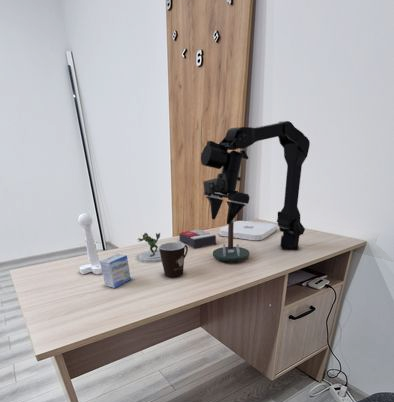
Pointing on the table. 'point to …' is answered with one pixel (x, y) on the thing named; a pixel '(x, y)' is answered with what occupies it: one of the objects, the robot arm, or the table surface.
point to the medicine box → (115, 270)
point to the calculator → (197, 238)
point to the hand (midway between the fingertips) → (220, 221)
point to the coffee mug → (173, 258)
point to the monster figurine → (151, 254)
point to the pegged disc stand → (231, 249)
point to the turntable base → (231, 261)
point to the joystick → (89, 247)
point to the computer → (249, 230)
